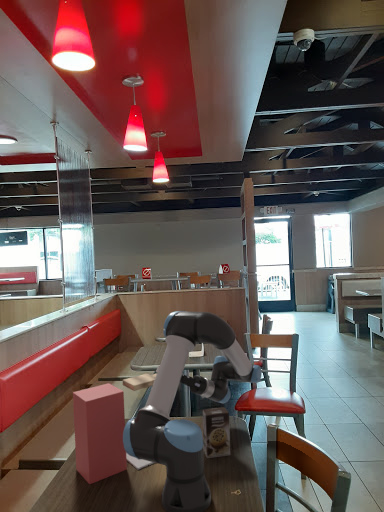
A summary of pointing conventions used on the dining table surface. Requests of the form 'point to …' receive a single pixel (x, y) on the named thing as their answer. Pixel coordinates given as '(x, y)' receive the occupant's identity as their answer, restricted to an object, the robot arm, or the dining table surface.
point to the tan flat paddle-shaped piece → (139, 381)
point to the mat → (137, 462)
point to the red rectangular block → (99, 432)
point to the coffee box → (216, 432)
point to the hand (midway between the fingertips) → (160, 369)
